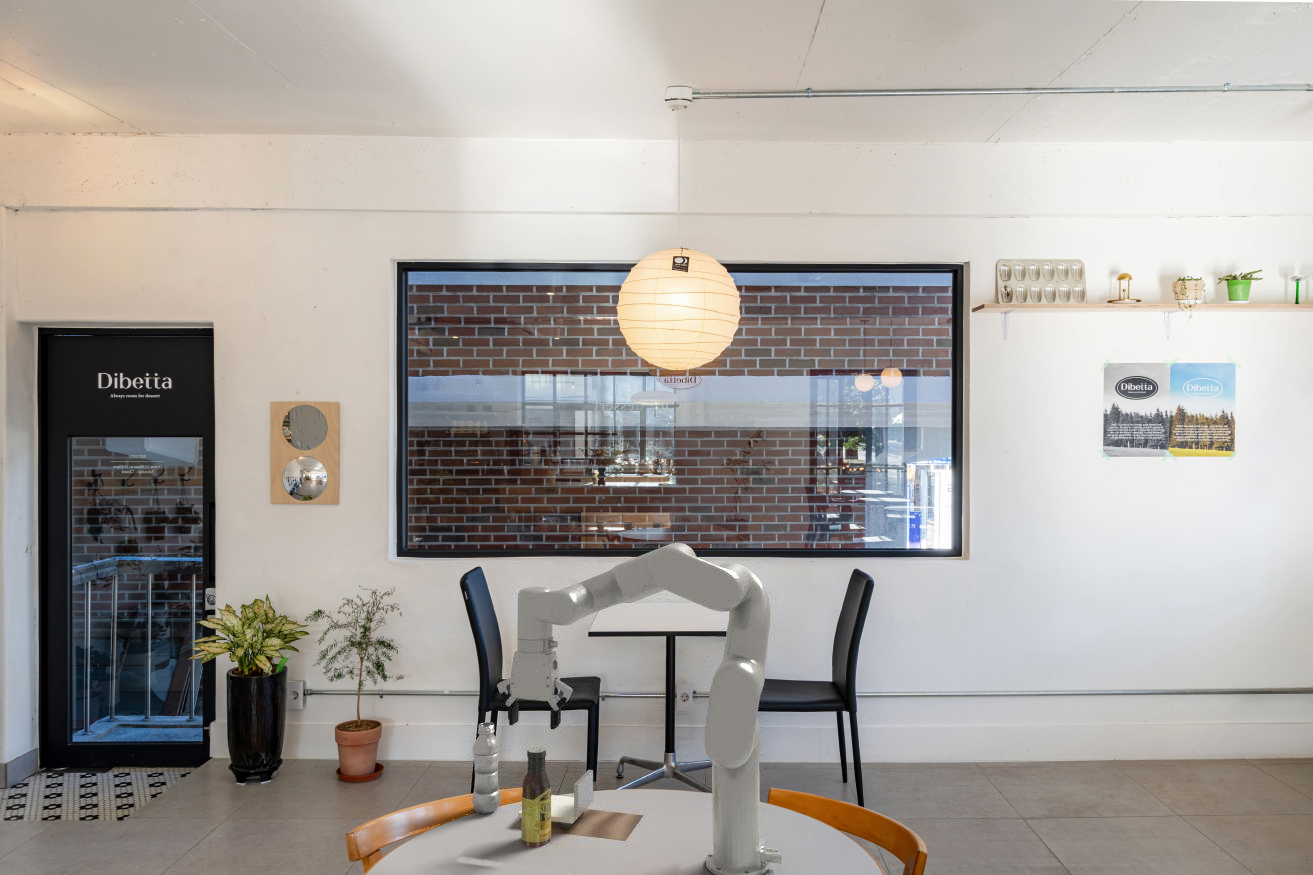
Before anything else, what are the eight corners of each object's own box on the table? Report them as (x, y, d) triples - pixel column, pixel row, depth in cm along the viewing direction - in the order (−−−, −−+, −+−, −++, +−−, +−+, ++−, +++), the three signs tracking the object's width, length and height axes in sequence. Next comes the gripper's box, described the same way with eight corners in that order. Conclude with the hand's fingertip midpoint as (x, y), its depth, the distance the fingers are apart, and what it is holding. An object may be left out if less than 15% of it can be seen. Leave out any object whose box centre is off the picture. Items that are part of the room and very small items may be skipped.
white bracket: (594, 811, 182) (594, 768, 183) (576, 831, 171) (576, 786, 172) (539, 804, 186) (539, 763, 186) (518, 824, 175) (518, 780, 176)
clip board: (643, 819, 180) (643, 815, 180) (625, 845, 167) (625, 840, 167) (539, 807, 187) (539, 803, 187) (514, 831, 175) (514, 826, 175)
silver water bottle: (466, 815, 184) (466, 727, 185) (481, 803, 190) (481, 719, 191) (491, 818, 182) (491, 730, 183) (505, 806, 188) (505, 721, 189)
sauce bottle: (545, 853, 164) (544, 756, 165) (517, 850, 166) (516, 754, 167) (555, 838, 171) (554, 745, 172) (528, 836, 172) (527, 744, 173)
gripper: (578, 644, 172) (578, 723, 171) (506, 639, 176) (505, 716, 176) (565, 651, 164) (564, 734, 164) (490, 646, 169) (489, 727, 168)
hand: (534, 725), depth 170 cm, fingers open, 9 cm apart
